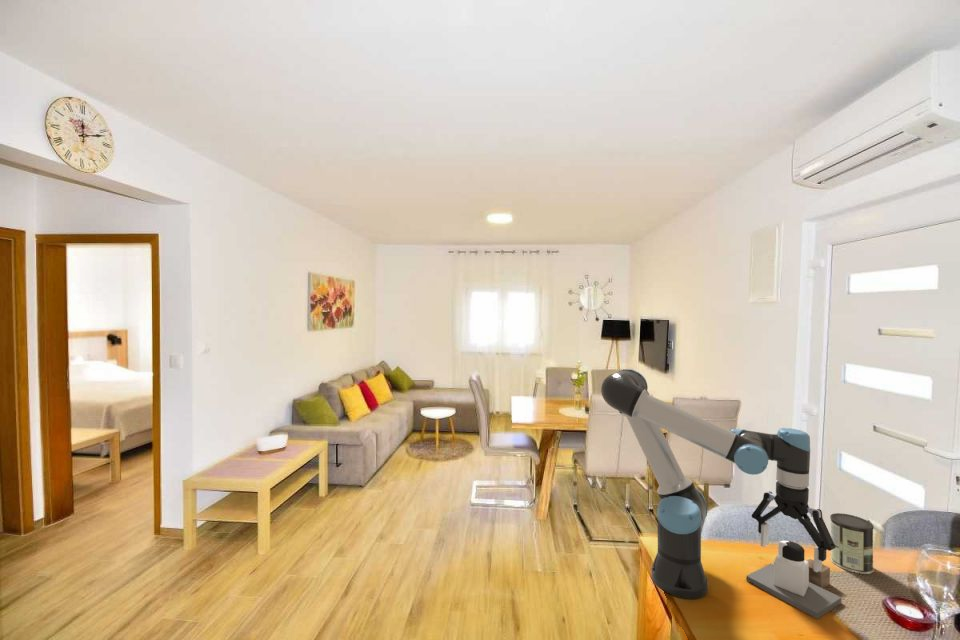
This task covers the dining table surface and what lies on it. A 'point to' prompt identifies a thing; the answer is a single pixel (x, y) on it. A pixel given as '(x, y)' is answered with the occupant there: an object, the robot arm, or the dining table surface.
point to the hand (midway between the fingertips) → (789, 557)
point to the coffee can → (852, 543)
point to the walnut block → (819, 575)
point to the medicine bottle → (791, 568)
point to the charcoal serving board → (812, 603)
